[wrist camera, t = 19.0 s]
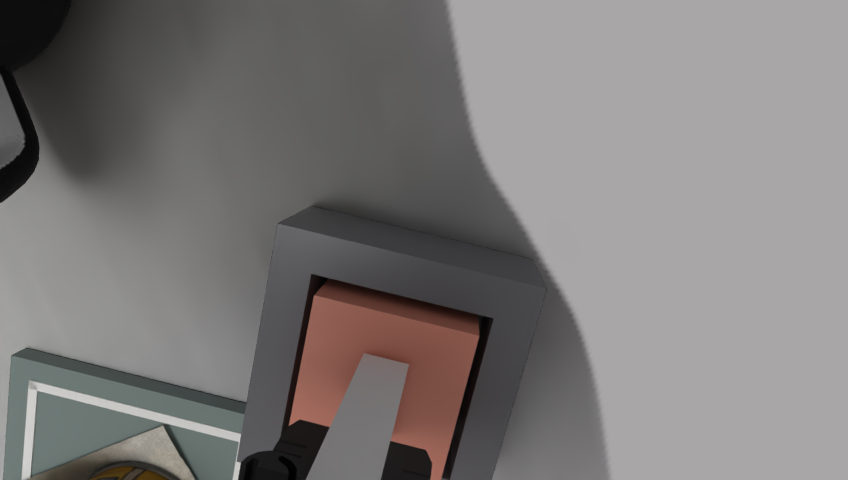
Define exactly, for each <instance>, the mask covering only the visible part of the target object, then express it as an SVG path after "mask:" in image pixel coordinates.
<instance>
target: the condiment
mask: <svg viewBox="0 0 848 480" xmlns="http://www.w3.org/2000/svg"><path fill="white" fill-rule="evenodd" d="M27 480H195V479H194V477H193V475H192V474H191V472H190V470H189V468H188V467H187V466H186V464H185V463H184V460H183V459H182V458H181V457H180V456H179V454H178V452H177V450H176V448H175V446H174V445H173V443H172V441H171V440H170V438H169V436H168V434H167V432H166V430H165V428H164V426H161V427H158V428H156V429H153V430H150V431H148V432H145V433H143V434H140V435H137V436H134V437H132V438H129V439H126V440H124V441H122V442H120V443H117V444H114V445H111V446H108V447H106V448H103V449H101V450H99V451H97V452H93V453H91V454H89V455H86V456H84V457H82V458H79V459H76V460H74V461H72V462H70V463H68V464H65V465H63V466H60V467H57V468H54V469H52V470H49V471H47V472H44V473H41V474H38V475H36V476H34V477H31V478H29V479H27Z"/></svg>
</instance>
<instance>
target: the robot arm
mask: <svg viewBox="0 0 848 480" xmlns="http://www.w3.org/2000/svg"><path fill="white" fill-rule="evenodd" d="M408 367H409V364H406V363H402V362H398V361H394V360H390V359H386V358H382V357H378V356H374V355H370V354H366V353H364V354H363V356H362V358H361V361H360V363H359V365H358V367H357V369H356V371H355V374H354V376H353V378H352V380H351V382H350V384H349V387H348V389H347V391H346V393H345V395H344V398H343V400H342V402H341V404H340V406H339V408H338V411H337V413H336V415H335V417H334V419H333V422H332V424H331V426H330V427H328V426H324V425H320V424H316V423H312V422H308V421H304V420H300V419H299V420H298V421H296V422H295V423H293V424H291V425H290V426H288V427H286V429H285V430H284V432H283V434H282V435H281V437H280V439H279V441H278V442H277V444H276V445H275V447H274V449H273V451H270V450H269V451H261V452H257V453H254V454H252V455H249V456H247V457H246V458H245V459H244V460H243V461H242V462H241V465H240V470H239V476H238V480H431V479H430V478H431V471H432V462H431V460H430V457H429V455H428V453H427V451H426V450H424V449H420V448H416V447H413V446H409V445H405V444H401V443H397V442H393V441H391V438H392V433H393V429H394V425H395V421H396V417H397V413H398V408H399V404H400V400H401V396H402V392H403V388H404V383H405V379H406V375H407V371H408Z"/></svg>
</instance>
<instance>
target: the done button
mask: <svg viewBox="0 0 848 480" xmlns="http://www.w3.org/2000/svg"><path fill="white" fill-rule="evenodd" d="M478 339H479V319H478V314H474V313H470V312H465V311H461V310H457V309H453V308H449V307H445V306H441V305H437V304H433V303H429V302H425V301H420V300H416V299H412V298H408V297H404V296H400V295H396V294H392V293H388V292H384V291H379V290H375V289H371V288H367V287H363V286H359V285H355V284H351V283H347V282H343V281H339V280H334V279H330V278H329V279H328V280H327V282H326V283H325V284H324V285H323V286H322V287H321V288H320V289H319V290H318V291H317V293H316V294H315V295H314V298H313V303H312V308H311V313H310V319H309V324H308V329H307V334H306V339H305V345H304V350H303V355H302V360H301V365H300V370H299V376H298V381H297V386H296V391H295V396H294V402H293V407H292V412H291V417H290V422H289V426H290V425H291V424H293V423H295V422H296V421H298V420H299V419H300V420H304V421H308V422H312V423H316V424H320V425H324V426H328V427H330V426H331V424H332V422H333V419H334V417H335V415H336V413H337V411H338V408H339V406H340V404H341V402H342V400H343V398H344V395H345V393H346V391H347V389H348V387H349V384H350V382H351V380H352V378H353V376H354V374H355V371H356V369H357V367H358V365H359V363H360V361H361V358H362V356H363V354H364V353H366V354H370V355H374V356H378V357H382V358H386V359H390V360H394V361H398V362H402V363H406V364H409V367H408V371H407V375H406V379H405V383H404V388H403V392H402V396H401V400H400V404H399V408H398V413H397V417H396V421H395V425H394V429H393V433H392V438H391V441H393V442H397V443H401V444H405V445H409V446H413V447H416V448H420V449H424V450H426V451H427V453H428V455H429V457H430V460H431V462H432V471H431V478H430V479H431V480H441V478H442V474H443V470H444V466H445V463H446V459H447V455H448V451H449V448H450V444H451V440H452V436H453V433H454V429H455V425H456V421H457V418H458V414H459V410H460V407H461V403H462V399H463V395H464V392H465V388H466V384H467V380H468V377H469V373H470V369H471V365H472V362H473V358H474V354H475V351H476V347H477V343H478Z"/></svg>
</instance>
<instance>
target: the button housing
mask: <svg viewBox="0 0 848 480" xmlns="http://www.w3.org/2000/svg"><path fill="white" fill-rule="evenodd" d="M329 278H330V279H334V280H339V281H343V282H347V283H351V284H355V285H359V286H363V287H367V288H371V289H375V290H379V291H384V292H388V293H392V294H396V295H400V296H404V297H408V298H412V299H416V300H420V301H425V302H429V303H433V304H437V305H441V306H445V307H449V308H453V309H457V310H461V311H465V312H470V313H474V314H478V319H479V339H478V343H477V347H476V351H475V354H474V358H473V362H472V365H471V369H470V373H469V377H468V380H467V384H466V388H465V392H464V395H463V399H462V403H461V407H460V410H459V414H458V418H457V421H456V425H455V429H454V433H453V436H452V440H451V444H450V448H449V451H448V455H447V459H446V463H445V466H444V470H443V474H442V478H441V480H492V476H493V473H494V470H495V466H496V463H497V459H498V456H499V452H500V449H501V446H502V442H503V439H504V435H505V432H506V428H507V425H508V421H509V418H510V415H511V411H512V408H513V404H514V401H515V397H516V394H517V391H518V387H519V384H520V380H521V377H522V373H523V370H524V366H525V363H526V360H527V356H528V353H529V349H530V346H531V342H532V339H533V336H534V332H535V329H536V325H537V322H538V318H539V315H540V311H541V308H542V305H543V301H544V298H545V294H546V291H547V287H546V285H545V283H544V281H543V279H542V277H541V275H540V273H539V271H538V269H537V267H536V265H535V263H534V261H533V259H530V258H526V257H522V256H517V255H513V254H509V253H505V252H501V251H497V250H492V249H488V248H484V247H480V246H476V245H472V244H468V243H463V242H459V241H455V240H451V239H447V238H443V237H438V236H434V235H430V234H426V233H422V232H418V231H413V230H409V229H405V228H401V227H397V226H393V225H389V224H384V223H380V222H376V221H372V220H368V219H364V218H359V217H355V216H351V215H347V214H343V213H339V212H334V211H330V210H326V209H322V208H318V207H314V206H310V207H309V208H307V209H305V210H303V211H301V212H299V213H297V214H295V215H293V216H291V217H289V218H287V219H285V220H283V221H281V222H279V223H277V229H276V235H275V240H274V246H273V252H272V258H271V264H270V269H269V275H268V281H267V287H266V293H265V299H264V304H263V310H262V316H261V322H260V328H259V333H258V339H257V345H256V351H255V357H254V362H253V368H252V374H251V380H250V386H249V391H248V397H247V403H246V409H245V415H244V421H243V426H242V432H241V438H240V444H239V450H238V455H237V461H236V462H240V463H241V462H242V461H243V460H244V459H245V458H246V457H247V456H249V455H252V454H254V453H257V452H261V451H269V450H270V451H273V449H274V447H275V445H276V444H277V442H278V441H279V439H280V437H281V435H282V434H283V432H284V430H285V429H286V427H288V426H289V422H290V417H291V412H292V407H293V402H294V396H295V391H296V386H297V381H298V376H299V370H300V365H301V360H302V355H303V350H304V345H305V339H306V334H307V329H308V324H309V319H310V313H311V308H312V303H313V298H314V295H315V294H316V293H317V291H318V290H319V289H320V288H321V287H322V286H323V285H324V284H325V283H326V282H327V280H328V279H329Z"/></svg>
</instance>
